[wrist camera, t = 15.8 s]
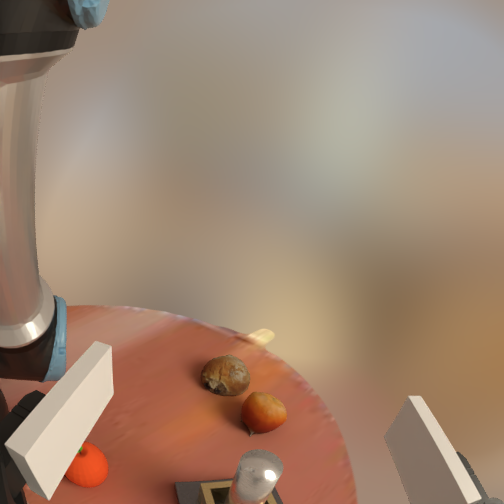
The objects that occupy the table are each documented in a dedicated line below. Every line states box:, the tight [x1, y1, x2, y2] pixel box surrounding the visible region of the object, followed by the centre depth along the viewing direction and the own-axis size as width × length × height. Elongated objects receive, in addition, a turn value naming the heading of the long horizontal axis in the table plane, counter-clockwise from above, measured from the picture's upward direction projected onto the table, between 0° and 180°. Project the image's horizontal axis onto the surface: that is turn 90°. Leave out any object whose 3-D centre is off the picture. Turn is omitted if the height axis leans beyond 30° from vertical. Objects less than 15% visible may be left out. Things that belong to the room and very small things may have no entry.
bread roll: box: [201, 355, 250, 396], centre depth 59 cm, size 10×10×8 cm
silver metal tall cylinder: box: [223, 449, 283, 504], centre depth 26 cm, size 5×5×14 cm
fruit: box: [241, 392, 287, 437], centre depth 48 cm, size 8×8×8 cm
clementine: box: [65, 441, 108, 488], centre depth 28 cm, size 8×7×7 cm
